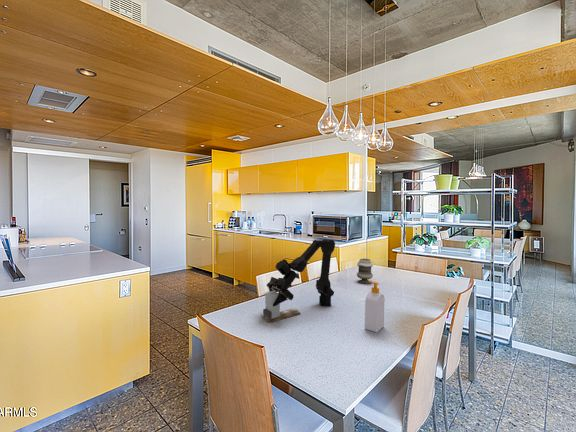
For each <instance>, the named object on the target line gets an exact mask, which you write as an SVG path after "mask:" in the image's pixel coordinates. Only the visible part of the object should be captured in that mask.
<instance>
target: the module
mask: <svg viewBox="0 0 576 432" xmlns="http://www.w3.org/2000/svg"><path fill="white" fill-rule="evenodd" d="M277 297H278V292H274V291H271V292H269V291H267V292H264V298H265V301H264V303H265V309H267V310H269V311H270V312H272V319H273V318H276V317H279V316H280V312H281V309H280V308H281V307H280V305H281V303H280V304H278V305H276V306H273V304H274V302H275V300H276V299H277Z"/></svg>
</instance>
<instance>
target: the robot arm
mask: <svg viewBox="0 0 576 432" xmlns="http://www.w3.org/2000/svg"><path fill="white" fill-rule="evenodd" d="M335 248H336V242H335V241H334V240H333V239H329V238H323V239H313V240H312V242H311V244H310V245H309V246H308V247H307V248H306V250H304V252H303V253H302V254H301V255H300V256H298V257H296V258H294V259H293V260H292V261H291V262H288V260H287V259H284V258H283V259H282V260H280V261H279V262H277V263H276V265H275V269H276V270H277V271H278V272H279V273H280V275H282V276H283V277H278V278H276V277H274V276H271V277H270V280H269V282H267V284H266V286H265V287H267V289H268V292H271V291H274V292H276V293H278V297H277V299H276V300H275V302H274V304H273V306H276V305H278V304H280V305H281V303H284V302H285V301H288V300H290V301H292V300H293V299H294V294H293V292H291V291H290V290H289V288H292V287H293V286H292V284H293V282H294V281H295V279H298V280H299V279H300V274H299V273H303V272H304V271H305V269H306V267H307V264H308V263H309V260H311V258H312V257H313V256H314V254H315V253H316V252H317V251H319V249H320V250H321V252H322V260H321V268H320V275H319V276H320V277H319V278H318V279H316V280H315V281H316V283H315V288H316V290H317V293H318V294H319V298H318V299H319V301H318V304H319V306H320V307H332V296H334V294H335V291H334V290H333V289H332V288H331V281H330V279H329V276H330V268H331V259H332V258H331V257H332V254H333V253H334V252H335V251H334V250H335Z"/></svg>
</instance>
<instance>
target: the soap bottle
mask: <svg viewBox="0 0 576 432" xmlns="http://www.w3.org/2000/svg"><path fill="white" fill-rule="evenodd" d="M369 281H370V280H369ZM370 282H371V283H372V284H373V287H371V291H368V293H366V296H365V301H364V329H365V330H368V331H371V332H375V333H378V332H380V330H381V328H382V327H383V328H384V326H385V300H386V299H385V295H384V294H383V293H380V288H379V287H378V285H380V282H378V281H373V280H371V281H370ZM370 282H368V283H370ZM371 283H370V284H371Z"/></svg>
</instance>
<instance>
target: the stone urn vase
mask: <svg viewBox="0 0 576 432" xmlns="http://www.w3.org/2000/svg"><path fill="white" fill-rule="evenodd" d="M356 265H357V267H358V272H357V273H356V277H357V278H359V280H357V282H358V283H359V284H364V285H370V284H371V282H370V280H371V279H372V278H373V276H374V274H373V273H372V267H373V266H374V264H373V262H372V260H371V259H370V258H365V257H364V258H359V260H358V262H357V264H356ZM368 282H370V283H368Z"/></svg>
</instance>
